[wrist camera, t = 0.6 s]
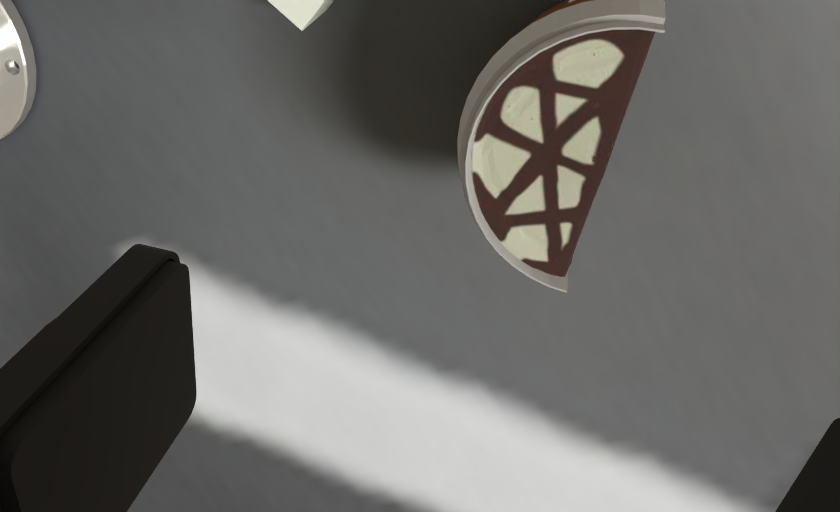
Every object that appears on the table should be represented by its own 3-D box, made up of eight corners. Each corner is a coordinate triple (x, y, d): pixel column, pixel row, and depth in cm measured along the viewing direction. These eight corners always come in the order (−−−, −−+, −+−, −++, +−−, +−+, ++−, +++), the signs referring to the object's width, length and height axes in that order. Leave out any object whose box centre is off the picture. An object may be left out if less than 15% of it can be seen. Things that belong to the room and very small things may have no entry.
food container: (512, -71, 33) (491, -28, 24) (645, -40, 32) (671, 14, 24) (454, 169, 39) (423, 266, 31) (564, 196, 39) (563, 302, 31)
